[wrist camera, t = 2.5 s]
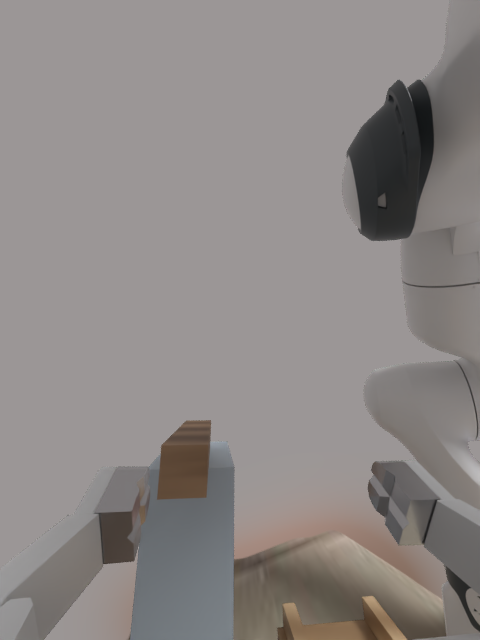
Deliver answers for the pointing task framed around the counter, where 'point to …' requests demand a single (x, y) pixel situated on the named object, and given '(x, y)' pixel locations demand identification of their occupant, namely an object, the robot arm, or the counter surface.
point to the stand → (188, 560)
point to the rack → (341, 626)
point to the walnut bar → (185, 462)
